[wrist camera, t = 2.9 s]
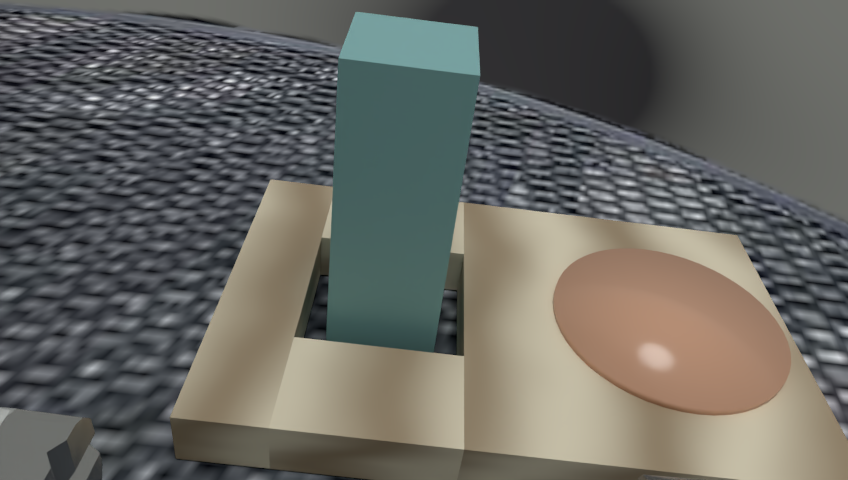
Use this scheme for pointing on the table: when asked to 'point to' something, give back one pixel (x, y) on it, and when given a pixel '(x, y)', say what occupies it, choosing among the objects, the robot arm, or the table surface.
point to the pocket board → (470, 369)
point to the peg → (397, 176)
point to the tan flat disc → (671, 331)
